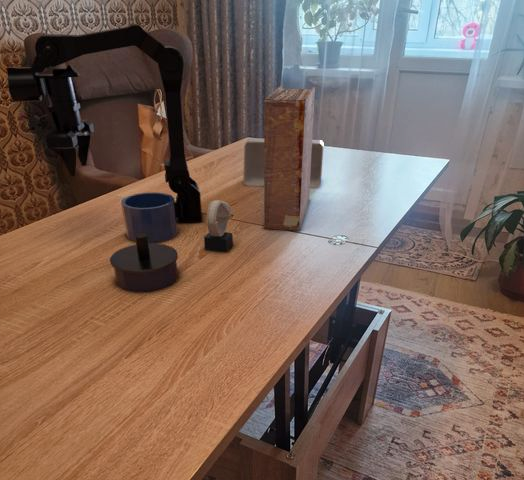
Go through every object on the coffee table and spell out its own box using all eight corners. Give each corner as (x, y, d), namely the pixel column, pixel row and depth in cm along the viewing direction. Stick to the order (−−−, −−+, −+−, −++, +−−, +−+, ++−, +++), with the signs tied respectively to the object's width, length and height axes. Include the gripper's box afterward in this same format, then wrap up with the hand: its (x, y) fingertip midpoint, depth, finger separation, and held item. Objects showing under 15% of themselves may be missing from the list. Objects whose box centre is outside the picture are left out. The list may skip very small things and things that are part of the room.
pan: (179, 264, 108) (177, 245, 105) (174, 290, 97) (172, 270, 95) (122, 265, 107) (119, 247, 104) (111, 292, 97) (107, 272, 94)
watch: (235, 242, 118) (233, 197, 111) (224, 255, 111) (221, 208, 105) (213, 239, 119) (211, 195, 113) (201, 252, 113) (198, 206, 106)
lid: (180, 247, 106) (177, 222, 103) (175, 274, 95) (172, 248, 91) (117, 248, 105) (112, 224, 102) (104, 277, 94) (99, 250, 91)
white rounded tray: (321, 174, 166) (324, 135, 159) (320, 188, 153) (323, 146, 146) (250, 172, 169) (249, 133, 162) (243, 185, 156) (242, 144, 149)
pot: (179, 223, 128) (176, 191, 123) (175, 242, 118) (171, 208, 113) (131, 225, 127) (126, 192, 122) (123, 243, 117) (117, 209, 112)
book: (278, 198, 145) (280, 85, 127) (309, 200, 143) (315, 86, 126) (264, 229, 124) (263, 100, 107) (299, 231, 123) (305, 101, 106)
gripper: (41, 94, 117) (58, 161, 126) (10, 107, 102) (32, 182, 111) (87, 93, 117) (100, 160, 126) (63, 106, 102) (80, 181, 111)
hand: (78, 170), depth 119 cm, fingers open, 9 cm apart
